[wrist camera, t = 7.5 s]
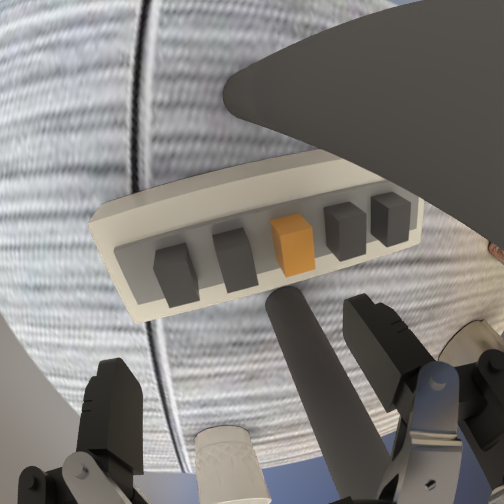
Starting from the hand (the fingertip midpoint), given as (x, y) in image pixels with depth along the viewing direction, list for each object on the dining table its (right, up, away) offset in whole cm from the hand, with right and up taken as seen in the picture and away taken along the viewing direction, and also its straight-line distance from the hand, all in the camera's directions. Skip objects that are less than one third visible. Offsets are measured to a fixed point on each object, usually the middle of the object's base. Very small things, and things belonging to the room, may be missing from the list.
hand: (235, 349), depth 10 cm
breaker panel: (+2, +6, +9) cm, 11 cm away
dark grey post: (0, +12, +5) cm, 13 cm away
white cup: (-3, -20, +22) cm, 30 cm away
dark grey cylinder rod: (+3, -1, +13) cm, 13 cm away
